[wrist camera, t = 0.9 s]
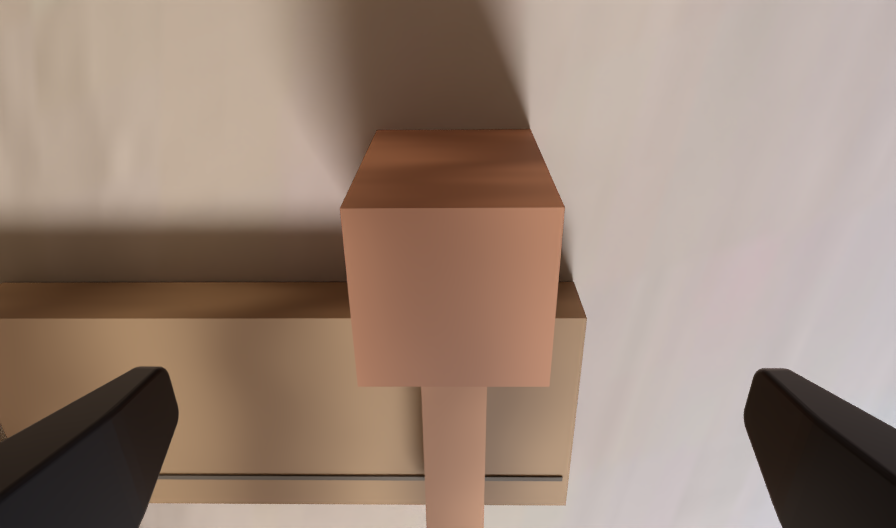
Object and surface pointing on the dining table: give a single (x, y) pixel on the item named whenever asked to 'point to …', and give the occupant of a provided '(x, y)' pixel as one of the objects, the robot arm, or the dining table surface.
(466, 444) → the mallet
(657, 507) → the dining table surface
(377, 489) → the board
